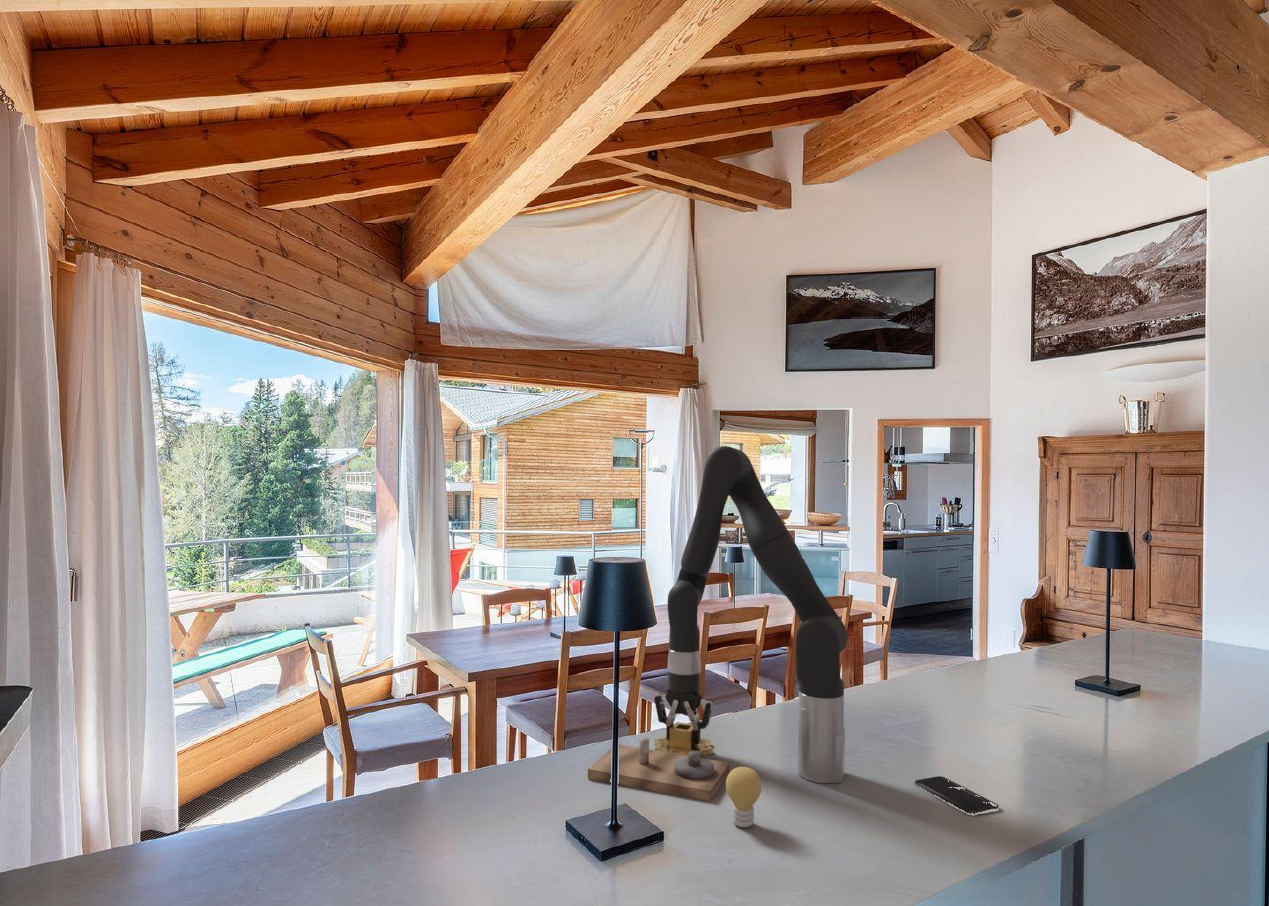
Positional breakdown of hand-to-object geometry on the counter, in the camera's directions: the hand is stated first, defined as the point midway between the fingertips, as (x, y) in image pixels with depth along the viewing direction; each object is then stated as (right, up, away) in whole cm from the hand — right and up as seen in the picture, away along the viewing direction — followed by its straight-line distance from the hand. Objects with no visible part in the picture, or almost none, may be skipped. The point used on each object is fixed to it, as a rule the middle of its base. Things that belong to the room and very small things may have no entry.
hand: (683, 743), depth 167 cm
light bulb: (+8, -1, -36) cm, 37 cm away
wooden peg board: (-6, -1, -15) cm, 16 cm away
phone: (+52, -2, -23) cm, 57 cm away
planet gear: (0, -1, 0) cm, 1 cm away
